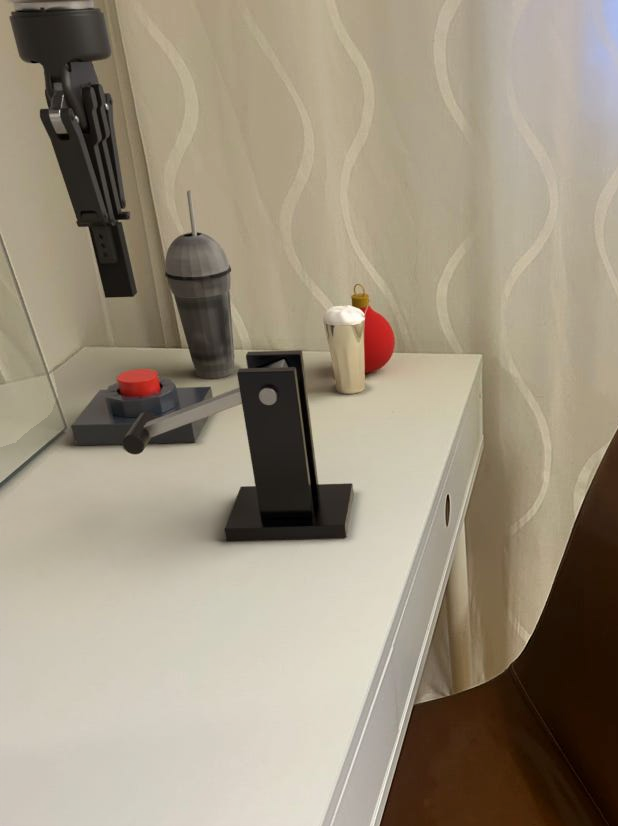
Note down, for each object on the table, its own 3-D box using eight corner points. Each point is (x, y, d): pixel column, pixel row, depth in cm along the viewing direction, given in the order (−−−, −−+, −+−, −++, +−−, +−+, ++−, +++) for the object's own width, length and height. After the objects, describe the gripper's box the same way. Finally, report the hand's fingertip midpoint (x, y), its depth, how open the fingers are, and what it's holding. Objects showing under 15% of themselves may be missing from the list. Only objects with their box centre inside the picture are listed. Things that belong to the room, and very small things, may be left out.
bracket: (226, 541, 81) (195, 380, 73) (242, 498, 87) (216, 346, 80) (346, 537, 81) (328, 376, 73) (353, 495, 88) (338, 343, 80)
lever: (131, 461, 78) (115, 435, 77) (147, 436, 82) (132, 411, 81) (291, 402, 76) (278, 374, 74) (299, 380, 80) (286, 352, 79)
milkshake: (372, 397, 107) (364, 305, 102) (325, 395, 108) (315, 304, 103) (382, 383, 111) (375, 293, 105) (337, 381, 112) (327, 292, 106)
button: (115, 399, 98) (111, 382, 97) (126, 385, 102) (122, 369, 101) (155, 398, 98) (151, 381, 97) (164, 384, 102) (161, 368, 101)
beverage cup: (229, 357, 119) (199, 180, 108) (258, 372, 115) (230, 189, 103) (173, 371, 116) (137, 189, 104) (201, 387, 111) (166, 198, 100)
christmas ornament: (324, 374, 114) (314, 286, 108) (363, 357, 119) (356, 272, 113) (369, 385, 111) (362, 296, 105) (408, 367, 115) (403, 281, 110)
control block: (76, 445, 98) (65, 408, 96) (104, 408, 106) (95, 373, 104) (195, 442, 98) (187, 404, 96) (214, 405, 106) (208, 370, 104)
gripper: (75, 7, 76) (142, 313, 89) (121, 2, 86) (175, 276, 100) (-21, 10, 76) (61, 316, 89) (36, 4, 86) (102, 278, 100)
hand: (121, 294), depth 94 cm, fingers closed
